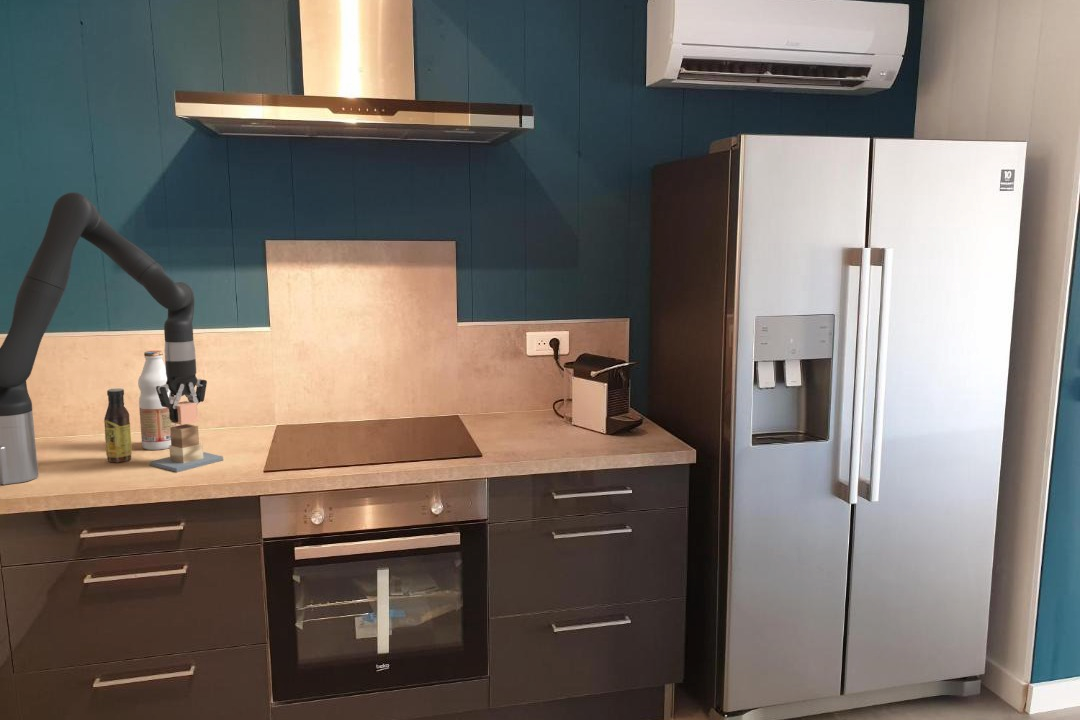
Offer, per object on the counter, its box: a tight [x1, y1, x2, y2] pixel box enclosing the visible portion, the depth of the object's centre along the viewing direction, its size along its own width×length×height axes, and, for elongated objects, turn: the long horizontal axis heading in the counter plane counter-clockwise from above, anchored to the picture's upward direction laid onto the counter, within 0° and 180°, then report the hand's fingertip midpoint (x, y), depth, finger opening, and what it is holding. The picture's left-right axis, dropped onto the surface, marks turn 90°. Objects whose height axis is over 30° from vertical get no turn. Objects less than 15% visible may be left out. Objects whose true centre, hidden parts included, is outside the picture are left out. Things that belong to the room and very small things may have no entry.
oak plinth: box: [168, 442, 204, 463], centre depth 226 cm, size 6×6×4 cm
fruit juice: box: [137, 350, 177, 451], centre depth 241 cm, size 9×9×28 cm
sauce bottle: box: [104, 387, 133, 464], centre depth 227 cm, size 6×6×20 cm
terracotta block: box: [170, 400, 199, 425], centre depth 224 cm, size 5×5×5 cm
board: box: [149, 451, 224, 473], centre depth 226 cm, size 14×12×1 cm
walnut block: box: [170, 423, 200, 448], centre depth 225 cm, size 5×5×5 cm
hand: (184, 420), depth 224 cm, fingers closed on terracotta block, 4 cm apart
